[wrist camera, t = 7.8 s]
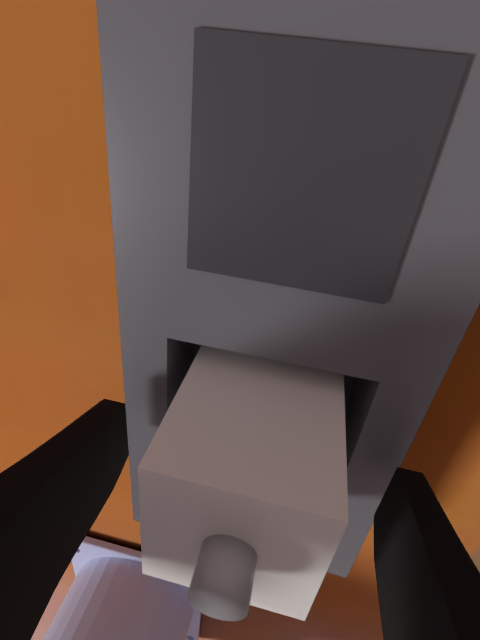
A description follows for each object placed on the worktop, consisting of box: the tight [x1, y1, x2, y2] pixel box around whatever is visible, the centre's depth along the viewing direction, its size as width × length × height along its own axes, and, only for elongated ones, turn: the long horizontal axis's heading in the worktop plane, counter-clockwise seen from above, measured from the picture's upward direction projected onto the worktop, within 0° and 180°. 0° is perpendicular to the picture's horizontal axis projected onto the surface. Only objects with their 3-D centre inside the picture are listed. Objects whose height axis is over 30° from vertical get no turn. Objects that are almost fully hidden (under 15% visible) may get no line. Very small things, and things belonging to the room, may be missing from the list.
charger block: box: [138, 345, 349, 621], centre depth 10 cm, size 4×4×7 cm
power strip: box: [96, 0, 480, 578], centre depth 10 cm, size 20×8×4 cm, turn 174°
